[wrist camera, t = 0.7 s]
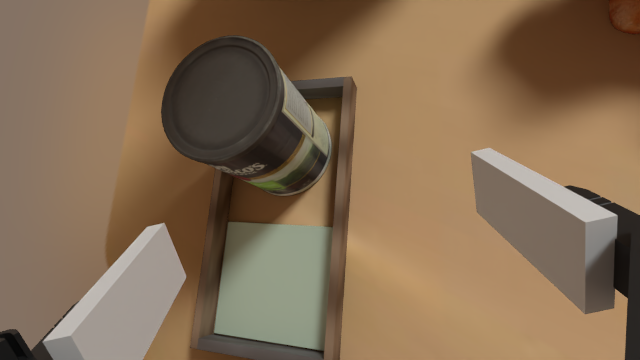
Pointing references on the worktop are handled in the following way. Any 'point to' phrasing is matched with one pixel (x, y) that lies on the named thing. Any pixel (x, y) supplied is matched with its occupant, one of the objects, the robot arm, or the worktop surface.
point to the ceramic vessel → (625, 15)
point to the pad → (275, 283)
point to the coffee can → (245, 117)
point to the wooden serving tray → (278, 356)
